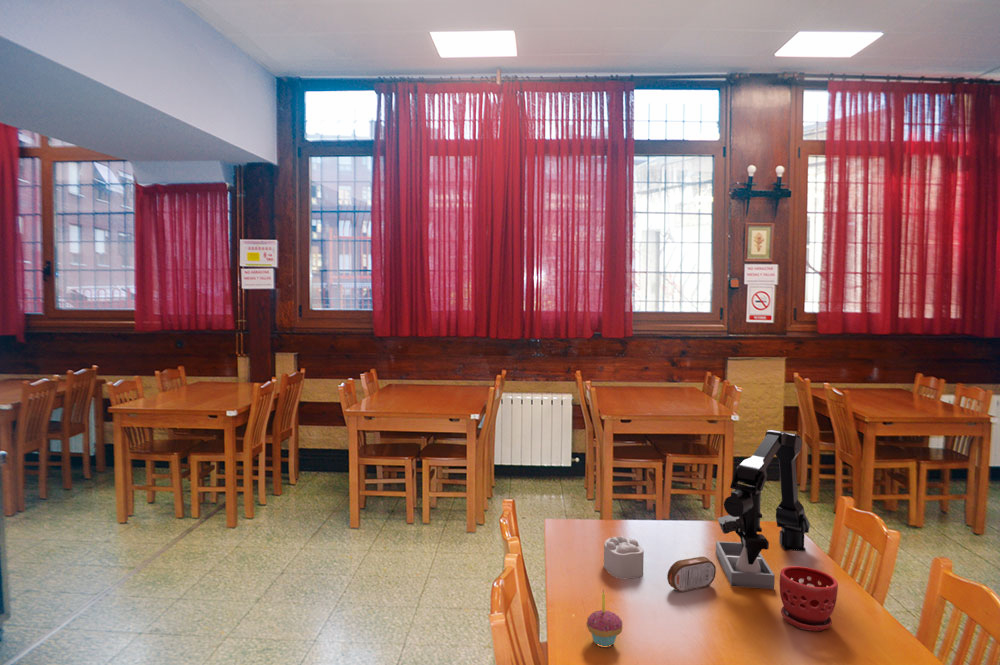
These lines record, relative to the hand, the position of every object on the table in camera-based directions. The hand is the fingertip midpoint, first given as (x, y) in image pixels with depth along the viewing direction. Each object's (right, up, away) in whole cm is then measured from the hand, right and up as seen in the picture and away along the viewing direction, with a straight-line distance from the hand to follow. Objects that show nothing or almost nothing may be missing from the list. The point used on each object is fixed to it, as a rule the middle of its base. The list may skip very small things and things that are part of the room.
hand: (748, 560), depth 182 cm
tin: (-18, -6, -6) cm, 20 cm away
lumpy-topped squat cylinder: (-36, -5, +7) cm, 37 cm away
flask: (0, -3, 0) cm, 3 cm away
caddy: (+1, -5, +6) cm, 8 cm away
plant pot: (+6, -7, -23) cm, 25 cm away
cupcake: (-47, -8, -33) cm, 58 cm away
